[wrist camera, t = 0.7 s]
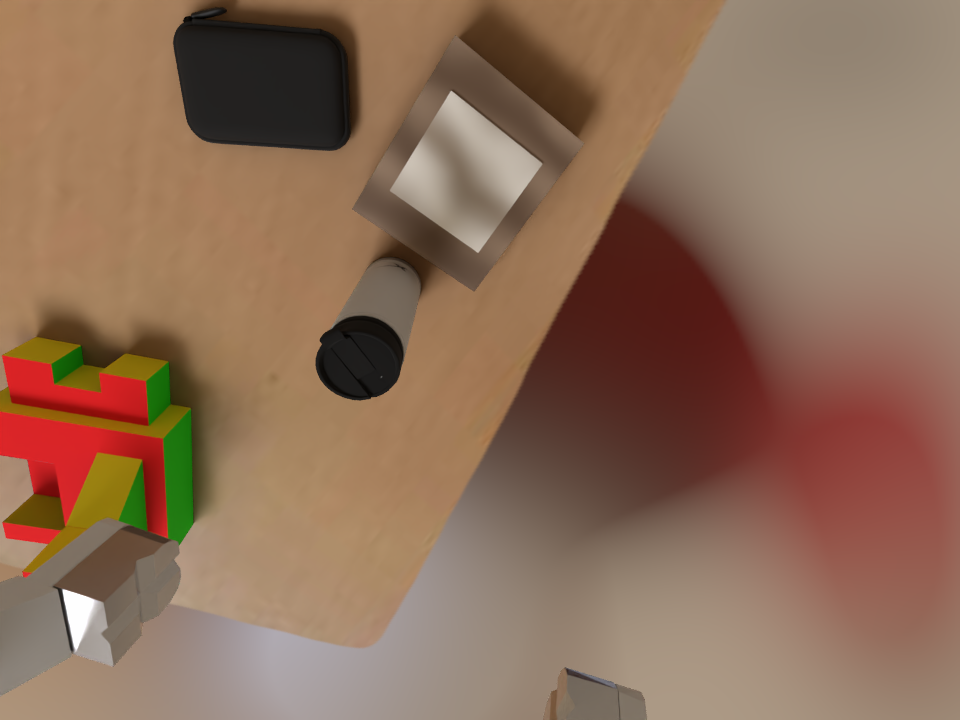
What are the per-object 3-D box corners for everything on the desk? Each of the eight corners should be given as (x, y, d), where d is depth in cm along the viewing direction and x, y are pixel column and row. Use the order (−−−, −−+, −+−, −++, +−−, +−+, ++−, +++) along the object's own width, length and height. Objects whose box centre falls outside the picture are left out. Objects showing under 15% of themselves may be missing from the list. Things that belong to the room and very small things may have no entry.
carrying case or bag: (349, 19, 44) (176, 6, 44) (341, 14, 42) (156, -1, 41) (354, 150, 49) (198, 140, 48) (348, 153, 46) (182, 142, 46)
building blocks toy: (191, 364, 59) (85, 463, 43) (194, 522, 70) (111, 649, 53) (15, 331, 57) (-169, 423, 40) (46, 500, 67) (-89, 626, 51)
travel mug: (398, 242, 53) (364, 312, 35) (432, 295, 56) (415, 385, 38) (349, 271, 54) (292, 353, 36) (384, 321, 57) (346, 420, 39)
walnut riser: (455, 40, 45) (455, 34, 41) (575, 140, 49) (584, 143, 45) (359, 201, 51) (351, 209, 47) (473, 279, 55) (474, 292, 51)
